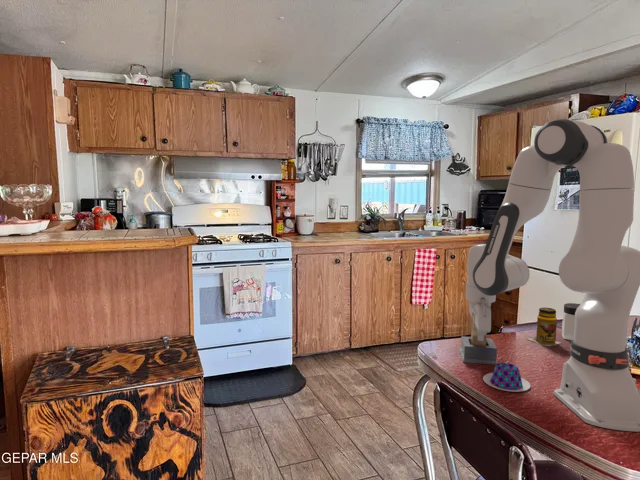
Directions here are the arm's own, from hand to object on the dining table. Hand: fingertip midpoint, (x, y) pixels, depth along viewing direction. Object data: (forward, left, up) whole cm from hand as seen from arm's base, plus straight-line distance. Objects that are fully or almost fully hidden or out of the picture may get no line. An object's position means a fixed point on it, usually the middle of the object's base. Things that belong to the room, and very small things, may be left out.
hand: (478, 337), depth 136 cm
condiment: (+21, -25, -7) cm, 33 cm away
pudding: (-18, -5, -7) cm, 20 cm away
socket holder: (0, 0, -7) cm, 7 cm away
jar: (+27, -37, -7) cm, 46 cm away
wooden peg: (0, 0, -5) cm, 5 cm away
